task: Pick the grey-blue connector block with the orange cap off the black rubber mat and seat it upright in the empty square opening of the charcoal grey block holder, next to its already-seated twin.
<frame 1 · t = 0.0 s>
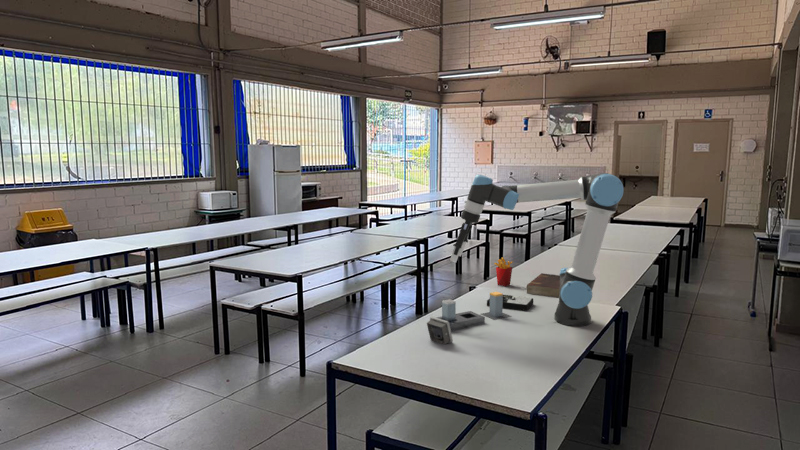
hand: (455, 258, 226), 28 cm above the table, tool tilted 20°, fingers open, 13 cm apart
multimeter: (510, 307, 253), on the table
mat: (495, 316, 238), on the table
french fries: (501, 285, 292), on the table
hardback book: (551, 290, 283), on the table
electrical switch: (440, 342, 207), on the table
plug: (495, 315, 238), resting on mat
grey block holder: (458, 324, 227), on the table
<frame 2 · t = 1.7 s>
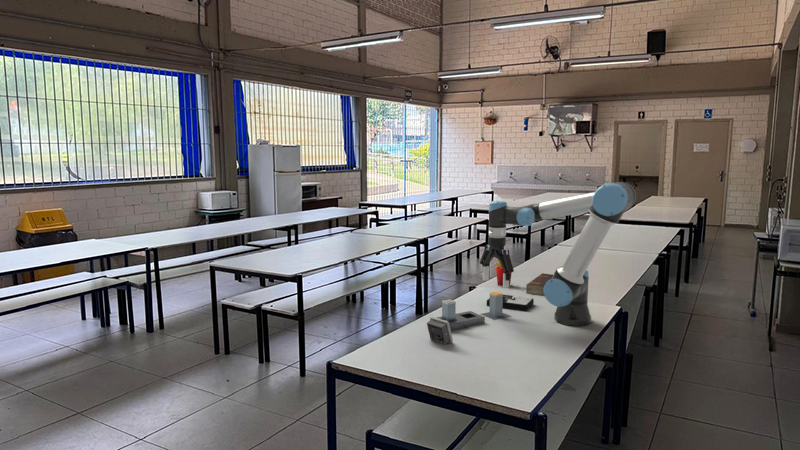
hand: (495, 284, 236), 15 cm above the table, tool pointing down, fingers open, 13 cm apart
nothing on the table moved.
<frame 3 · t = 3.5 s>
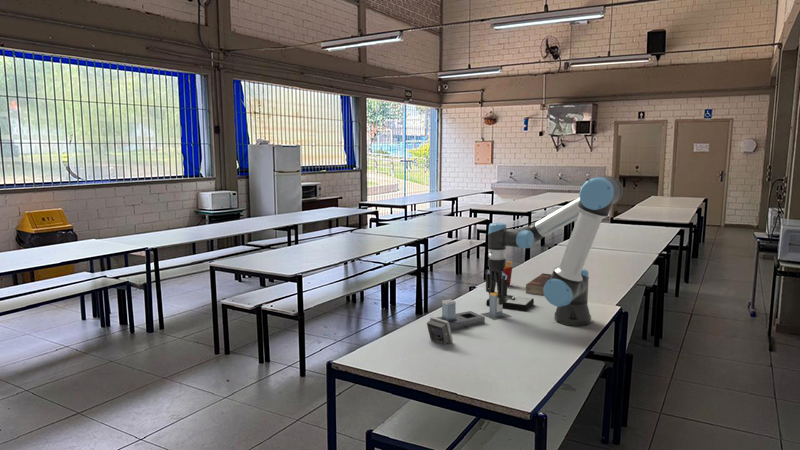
hand: (495, 309, 237), 3 cm above the table, tool pointing down, fingers closed on plug, 4 cm apart
plug: (495, 315, 238), resting on mat, touching gripper
everything else where it was.
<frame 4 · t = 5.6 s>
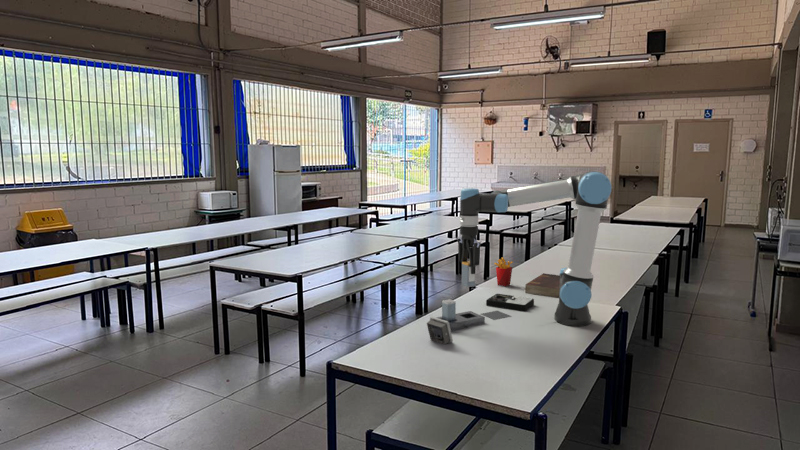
hand: (468, 279, 227), 19 cm above the table, tool pointing down, fingers closed on plug, 4 cm apart
plug: (468, 285, 227), point 16 cm above the table, touching gripper
everything else where it was.
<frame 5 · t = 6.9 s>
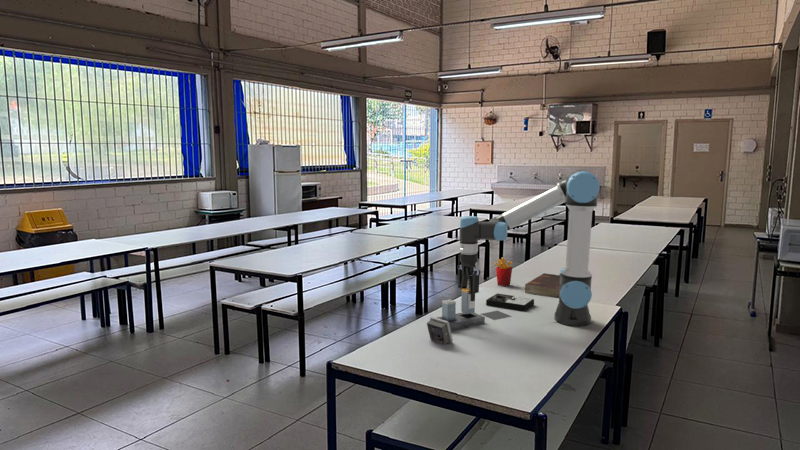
hand: (468, 306, 228), 7 cm above the table, tool pointing down, fingers closed on plug, 4 cm apart
plug: (467, 312, 229), point 5 cm above the table, touching gripper
everything else where it was.
when the fingers open (4 cm above the table, at t = 7.7 s): plug stays where it is, resting on grey block holder.
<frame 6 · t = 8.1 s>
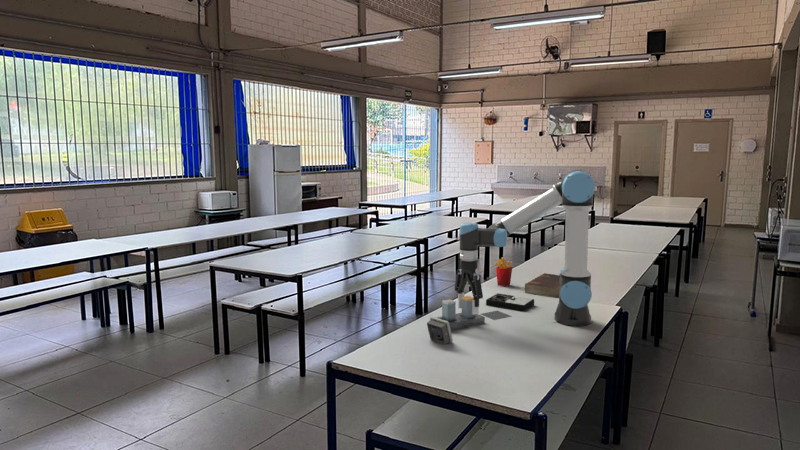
hand: (468, 310, 229), 5 cm above the table, tool pointing down, fingers open, 9 cm apart
plug: (468, 320, 229), point 1 cm above the table, touching grey block holder
everything else where it was.
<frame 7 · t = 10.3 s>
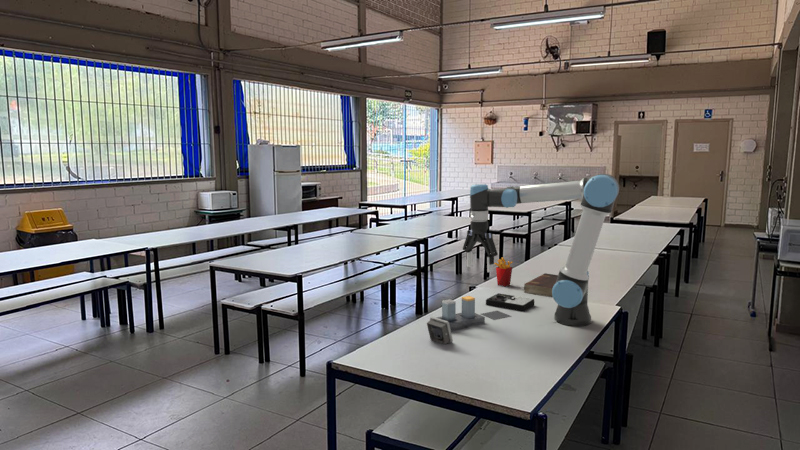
hand: (479, 269, 232), 22 cm above the table, tool pointing down, fingers open, 13 cm apart
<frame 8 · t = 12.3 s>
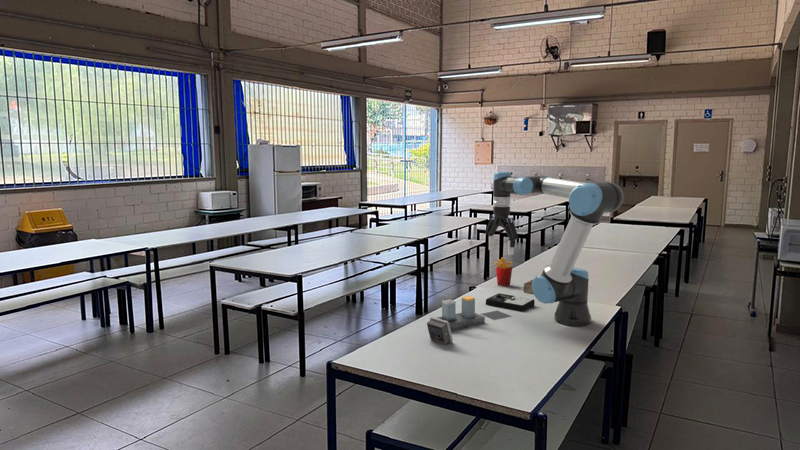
hand: (500, 252, 245), 27 cm above the table, tool pointing down, fingers open, 13 cm apart
at the end: plug 0.0 cm from the target spot on the grey block holder, point 1.0 cm above the grey block holder's base; plug tilted 0°; the gripper is holding nothing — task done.
